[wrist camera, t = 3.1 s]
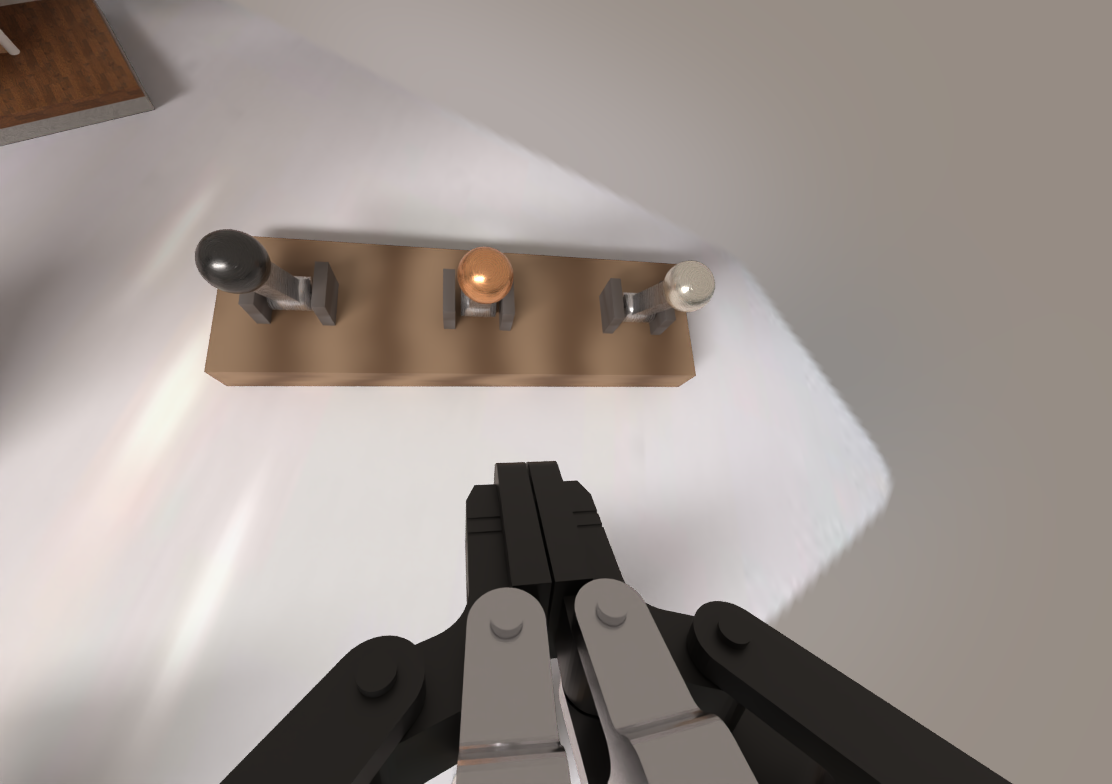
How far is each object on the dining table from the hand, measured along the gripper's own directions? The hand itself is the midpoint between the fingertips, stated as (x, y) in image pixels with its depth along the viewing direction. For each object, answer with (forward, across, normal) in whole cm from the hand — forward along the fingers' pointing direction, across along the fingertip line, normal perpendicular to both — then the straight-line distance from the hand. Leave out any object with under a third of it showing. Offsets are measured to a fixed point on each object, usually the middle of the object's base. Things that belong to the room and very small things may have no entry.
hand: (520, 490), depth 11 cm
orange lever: (+24, 0, +3) cm, 24 cm away
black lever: (+24, +12, +3) cm, 27 cm away
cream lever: (+24, -12, +3) cm, 27 cm away
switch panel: (+26, 0, +5) cm, 27 cm away
